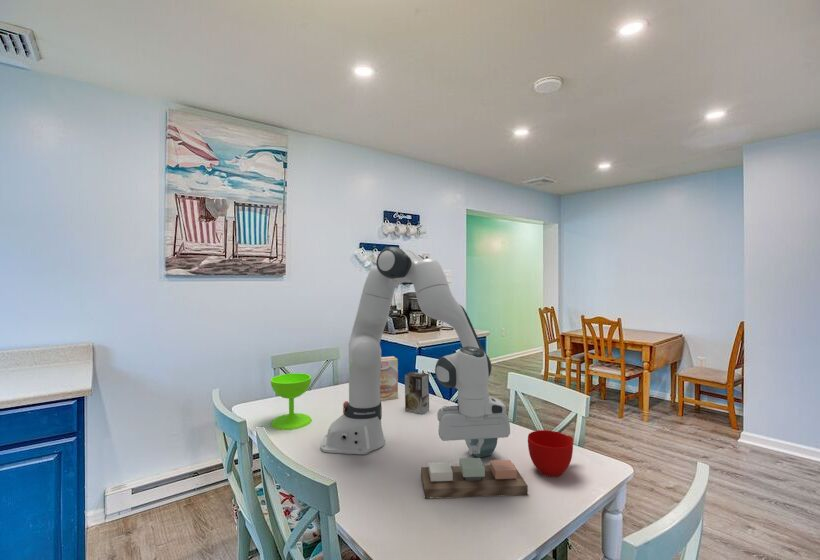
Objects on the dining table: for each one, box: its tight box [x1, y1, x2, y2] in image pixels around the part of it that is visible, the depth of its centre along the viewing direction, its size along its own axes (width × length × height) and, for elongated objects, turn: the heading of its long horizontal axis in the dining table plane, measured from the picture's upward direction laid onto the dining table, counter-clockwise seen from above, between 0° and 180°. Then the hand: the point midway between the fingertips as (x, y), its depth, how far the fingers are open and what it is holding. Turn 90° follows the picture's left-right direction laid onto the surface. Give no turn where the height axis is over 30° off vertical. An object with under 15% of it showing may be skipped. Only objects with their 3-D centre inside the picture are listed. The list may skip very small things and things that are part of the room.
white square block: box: [428, 461, 453, 482], centre depth 112 cm, size 6×6×5 cm
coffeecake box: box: [380, 355, 399, 402], centre depth 191 cm, size 15×7×20 cm, turn 111°
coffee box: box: [404, 371, 430, 415], centre depth 173 cm, size 9×6×16 cm
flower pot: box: [465, 438, 499, 459], centre depth 132 cm, size 9×9×9 cm
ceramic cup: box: [527, 429, 574, 478], centre depth 121 cm, size 13×17×10 cm
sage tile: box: [458, 457, 485, 481], centre depth 112 cm, size 6×6×5 cm
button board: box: [420, 463, 529, 499], centre depth 112 cm, size 28×12×2 cm, turn 93°
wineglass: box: [270, 372, 313, 431], centre depth 161 cm, size 16×16×18 cm
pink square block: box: [489, 459, 518, 480], centre depth 113 cm, size 6×6×5 cm
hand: (474, 453), depth 113 cm, fingers closed
